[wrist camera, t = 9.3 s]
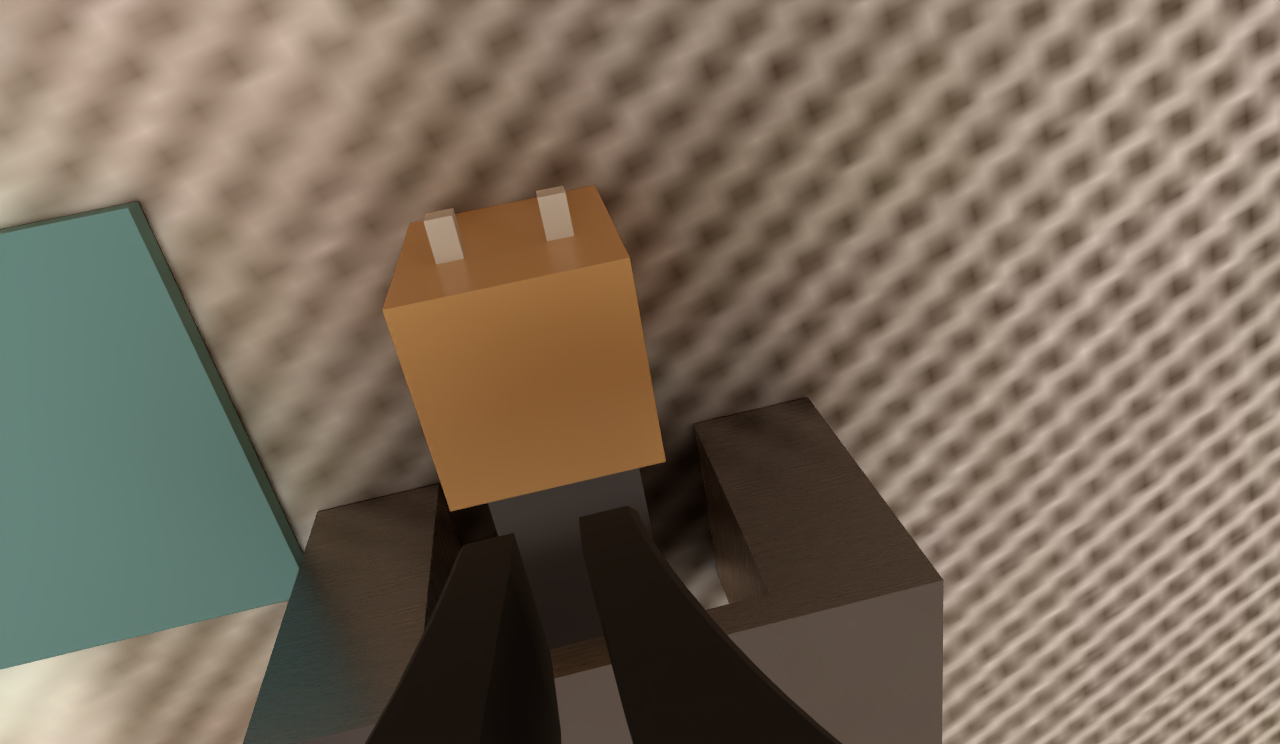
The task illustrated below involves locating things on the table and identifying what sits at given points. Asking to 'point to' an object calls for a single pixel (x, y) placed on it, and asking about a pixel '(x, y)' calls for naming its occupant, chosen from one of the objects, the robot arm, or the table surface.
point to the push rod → (565, 547)
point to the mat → (119, 450)
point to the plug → (523, 346)
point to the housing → (584, 679)
